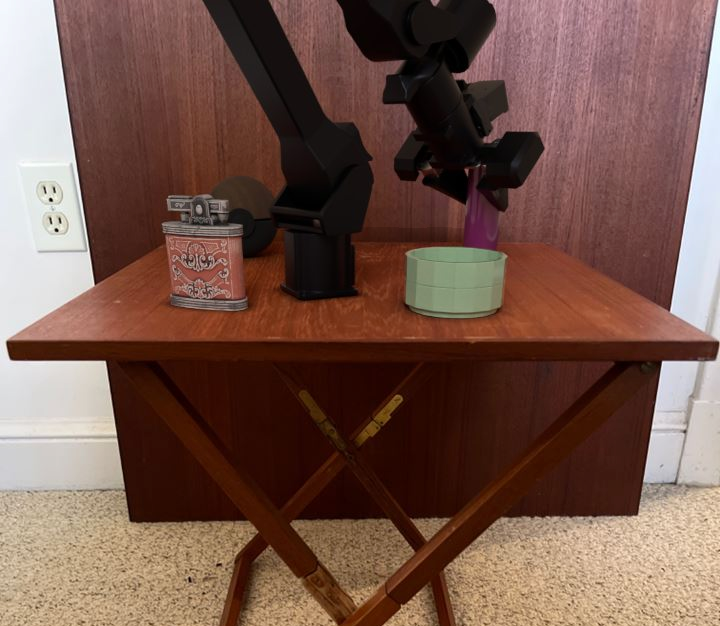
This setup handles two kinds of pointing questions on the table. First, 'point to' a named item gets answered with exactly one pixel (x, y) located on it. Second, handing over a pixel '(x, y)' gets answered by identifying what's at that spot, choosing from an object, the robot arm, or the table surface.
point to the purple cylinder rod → (480, 216)
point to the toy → (248, 211)
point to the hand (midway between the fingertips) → (490, 207)
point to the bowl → (454, 281)
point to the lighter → (205, 255)
